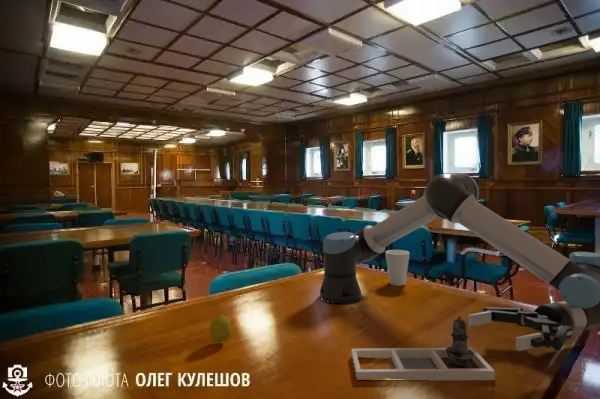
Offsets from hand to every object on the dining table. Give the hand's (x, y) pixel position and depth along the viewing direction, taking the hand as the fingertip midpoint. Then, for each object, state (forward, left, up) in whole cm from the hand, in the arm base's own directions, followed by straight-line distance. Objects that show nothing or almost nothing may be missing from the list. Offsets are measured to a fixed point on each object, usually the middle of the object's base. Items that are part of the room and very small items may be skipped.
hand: (491, 331), depth 82 cm
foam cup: (-39, +48, -7) cm, 63 cm away
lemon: (-61, -28, -7) cm, 68 cm away
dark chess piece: (-6, -7, -7) cm, 11 cm away
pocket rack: (-13, -12, -7) cm, 19 cm away
